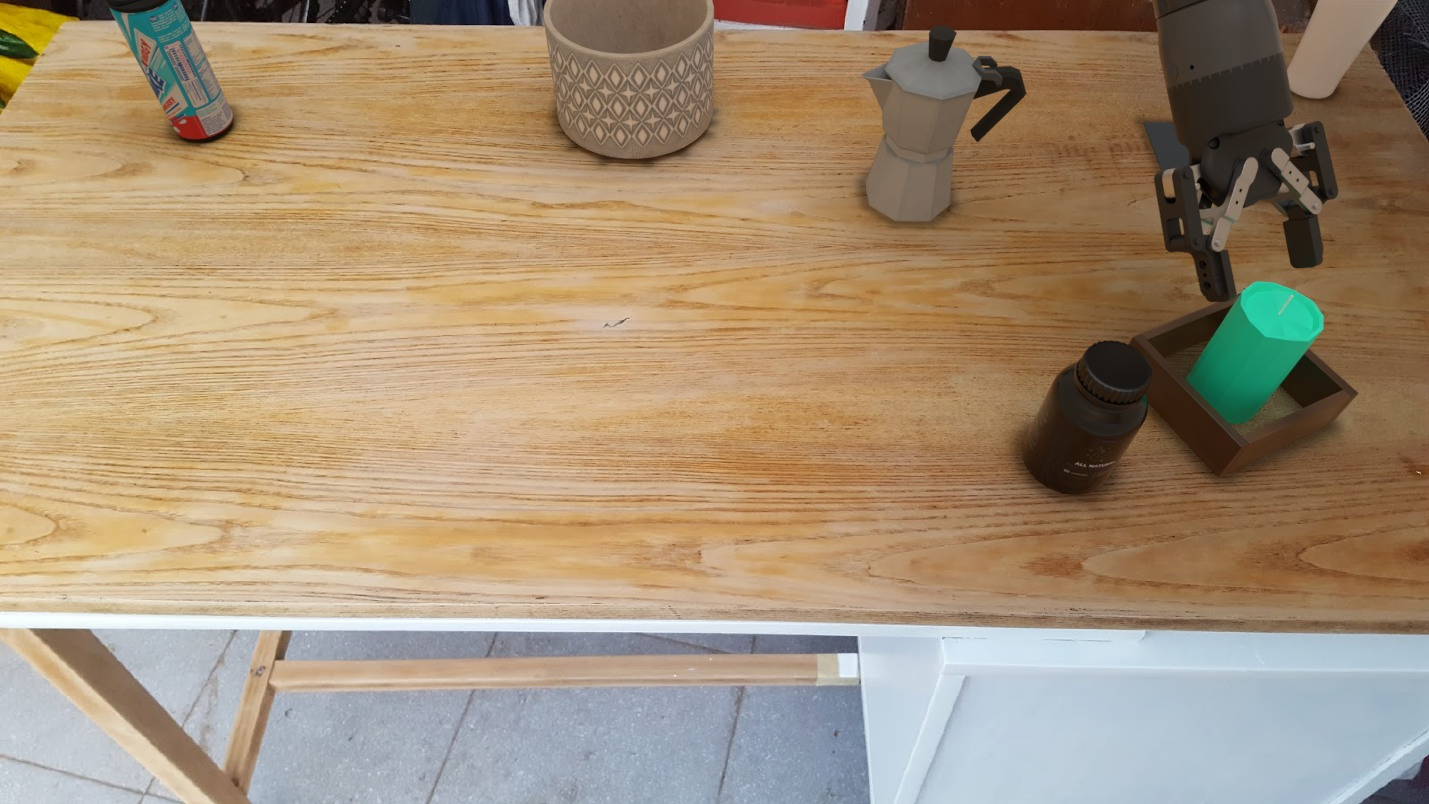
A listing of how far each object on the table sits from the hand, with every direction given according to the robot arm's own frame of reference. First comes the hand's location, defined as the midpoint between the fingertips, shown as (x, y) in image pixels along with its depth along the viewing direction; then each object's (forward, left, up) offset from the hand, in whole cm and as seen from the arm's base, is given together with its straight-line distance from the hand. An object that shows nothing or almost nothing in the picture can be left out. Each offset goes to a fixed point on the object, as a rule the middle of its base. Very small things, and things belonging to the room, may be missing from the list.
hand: (1265, 283), depth 71 cm
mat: (-9, -29, -12) cm, 33 cm away
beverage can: (+96, -29, -12) cm, 101 cm away
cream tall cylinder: (-23, -43, -12) cm, 50 cm away
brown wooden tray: (-1, +2, -12) cm, 12 cm away
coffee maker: (+22, -22, -12) cm, 33 cm away
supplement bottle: (+13, +9, -12) cm, 20 cm away
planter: (+51, -33, -12) cm, 62 cm away
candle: (-1, +2, -11) cm, 12 cm away
